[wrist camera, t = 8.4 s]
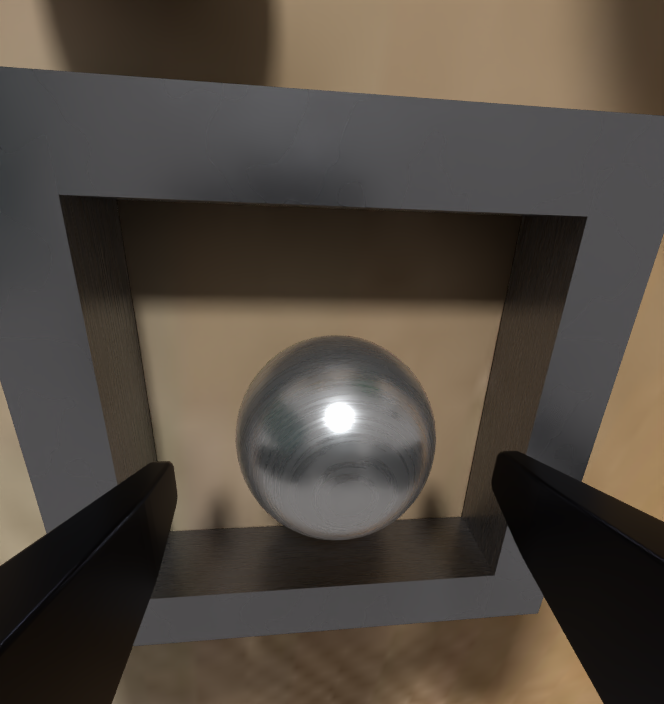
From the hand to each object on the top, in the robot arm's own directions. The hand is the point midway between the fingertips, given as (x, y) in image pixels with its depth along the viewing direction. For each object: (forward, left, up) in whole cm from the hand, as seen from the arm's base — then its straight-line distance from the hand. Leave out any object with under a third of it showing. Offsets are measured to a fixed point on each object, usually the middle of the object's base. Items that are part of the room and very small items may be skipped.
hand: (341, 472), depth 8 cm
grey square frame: (0, 0, -4) cm, 4 cm away
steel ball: (0, 0, -2) cm, 2 cm away
